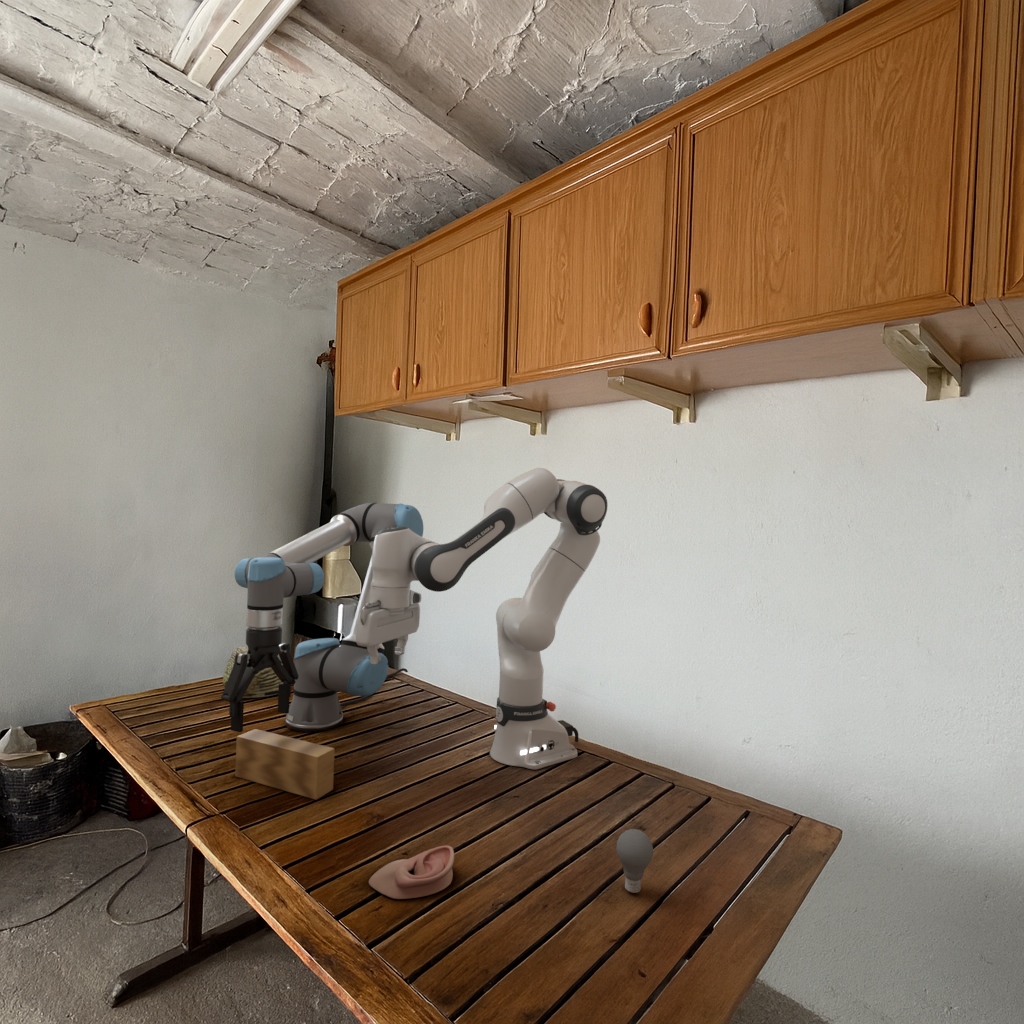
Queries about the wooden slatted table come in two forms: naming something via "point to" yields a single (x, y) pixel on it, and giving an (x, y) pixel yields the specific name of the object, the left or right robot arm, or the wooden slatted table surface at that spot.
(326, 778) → the bar
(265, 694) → the fossil
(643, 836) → the light bulb
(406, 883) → the anatomical model
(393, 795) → the wooden slatted table surface
